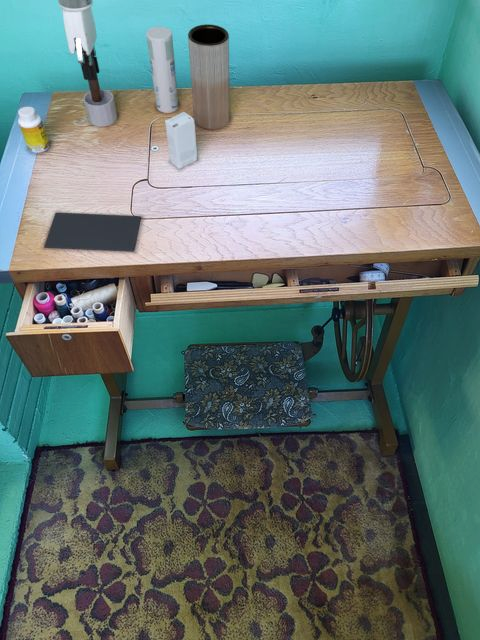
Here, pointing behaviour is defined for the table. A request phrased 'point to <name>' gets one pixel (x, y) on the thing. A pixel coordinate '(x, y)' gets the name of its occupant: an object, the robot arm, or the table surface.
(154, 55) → the spray can
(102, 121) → the tin
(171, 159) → the cosmetic box
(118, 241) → the felt mat
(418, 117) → the table surface
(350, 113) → the table surface
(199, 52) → the planter
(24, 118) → the supplement bottle
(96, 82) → the walnut stick
